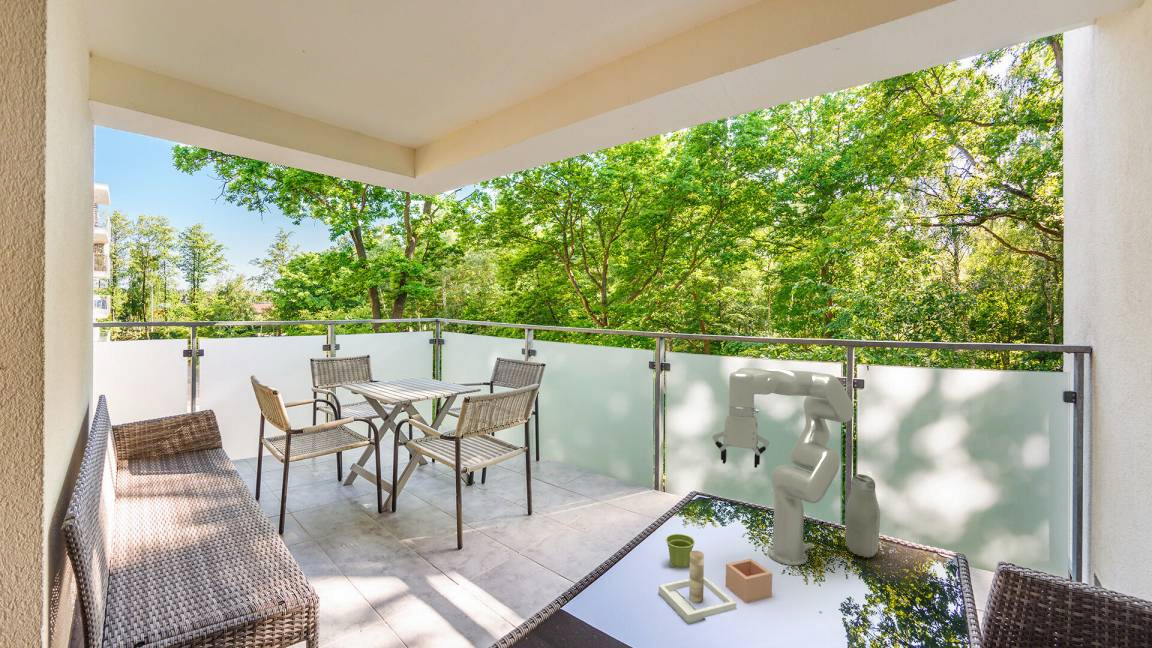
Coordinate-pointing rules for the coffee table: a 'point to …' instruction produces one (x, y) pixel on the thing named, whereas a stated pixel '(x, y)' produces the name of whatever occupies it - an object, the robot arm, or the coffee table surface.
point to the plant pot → (680, 549)
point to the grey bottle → (862, 517)
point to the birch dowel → (696, 576)
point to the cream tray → (686, 608)
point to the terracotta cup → (748, 580)
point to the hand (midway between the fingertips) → (740, 464)
